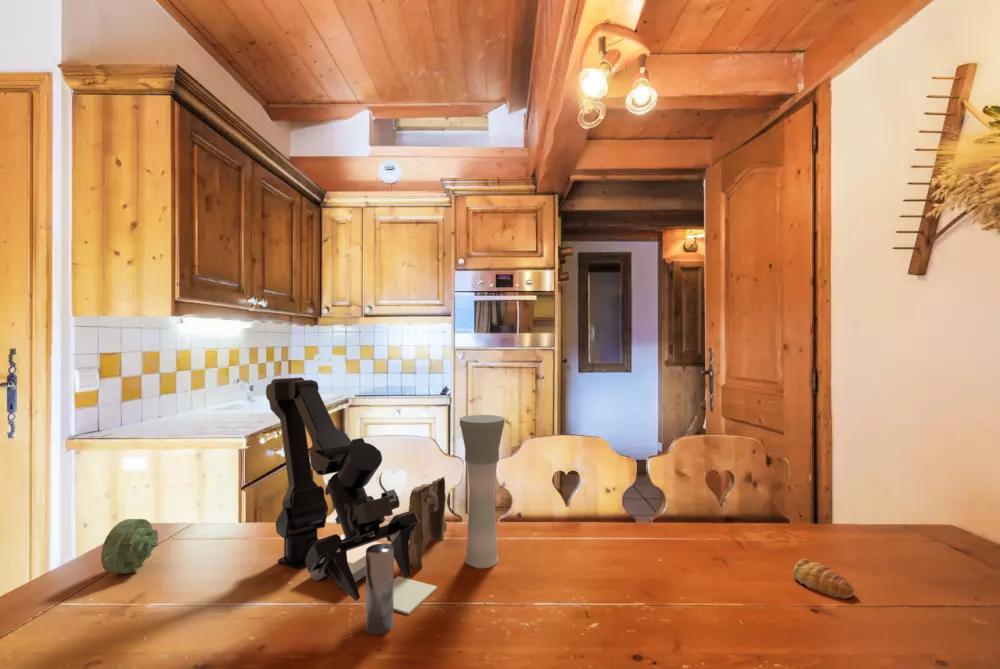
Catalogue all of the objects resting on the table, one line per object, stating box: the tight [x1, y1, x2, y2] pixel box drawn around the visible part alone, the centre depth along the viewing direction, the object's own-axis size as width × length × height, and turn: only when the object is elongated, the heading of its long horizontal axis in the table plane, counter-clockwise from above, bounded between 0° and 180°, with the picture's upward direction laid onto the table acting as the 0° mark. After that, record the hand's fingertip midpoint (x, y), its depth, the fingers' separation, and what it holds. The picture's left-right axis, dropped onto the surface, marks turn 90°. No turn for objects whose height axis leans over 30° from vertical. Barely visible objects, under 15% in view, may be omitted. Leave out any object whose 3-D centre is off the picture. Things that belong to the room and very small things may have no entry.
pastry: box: [792, 558, 855, 599], centre depth 88 cm, size 9×7×4 cm
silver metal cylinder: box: [365, 542, 395, 636], centre depth 75 cm, size 4×4×12 cm
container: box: [459, 414, 505, 569], centre depth 98 cm, size 10×10×30 cm
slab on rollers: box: [309, 533, 381, 590], centre depth 92 cm, size 11×10×5 cm
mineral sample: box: [408, 476, 448, 569], centre depth 102 cm, size 17×4×15 cm, turn 168°
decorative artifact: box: [100, 518, 159, 574], centre depth 93 cm, size 10×7×10 cm
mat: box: [394, 575, 438, 616], centre depth 84 cm, size 9×9×1 cm
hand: (384, 588), depth 74 cm, fingers open, 9 cm apart
